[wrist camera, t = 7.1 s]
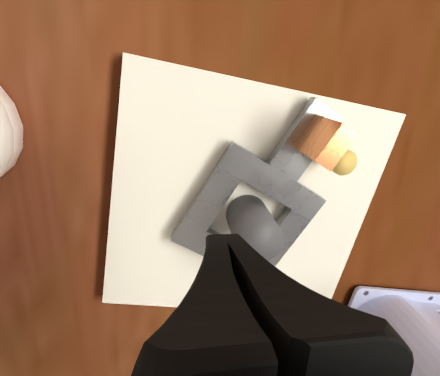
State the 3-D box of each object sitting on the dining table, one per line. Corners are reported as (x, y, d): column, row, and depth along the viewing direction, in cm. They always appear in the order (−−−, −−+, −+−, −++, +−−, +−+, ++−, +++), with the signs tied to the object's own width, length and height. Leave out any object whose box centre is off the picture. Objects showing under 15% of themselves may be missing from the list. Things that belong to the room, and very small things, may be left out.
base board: (396, 112, 22) (456, 123, 17) (319, 307, 28) (348, 355, 23) (125, 53, 18) (108, 47, 13) (105, 293, 24) (87, 347, 19)
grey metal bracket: (259, 276, 24) (275, 317, 20) (170, 234, 21) (169, 271, 17) (366, 138, 21) (409, 154, 17) (276, 70, 18) (303, 70, 14)
